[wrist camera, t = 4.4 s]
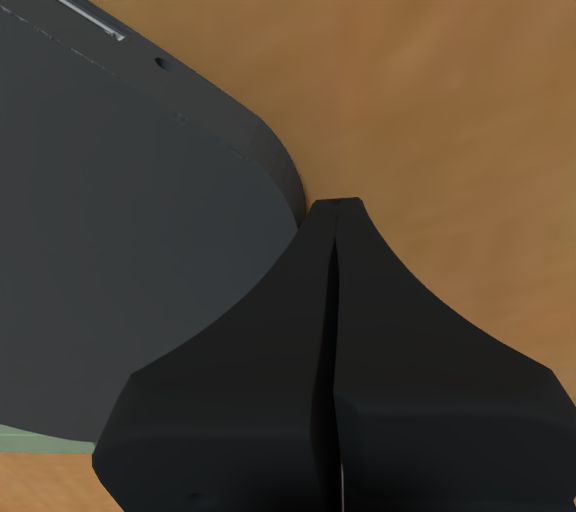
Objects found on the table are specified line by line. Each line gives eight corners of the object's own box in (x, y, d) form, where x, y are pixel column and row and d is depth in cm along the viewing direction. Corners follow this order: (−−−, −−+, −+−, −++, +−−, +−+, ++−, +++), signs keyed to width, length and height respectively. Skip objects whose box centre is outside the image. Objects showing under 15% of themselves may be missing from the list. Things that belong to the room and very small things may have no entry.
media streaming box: (161, 415, 20) (137, 483, 17) (-214, 265, 16) (-310, 327, 13) (365, 170, 11) (372, 237, 9) (-309, -264, 8) (-599, -343, 5)
